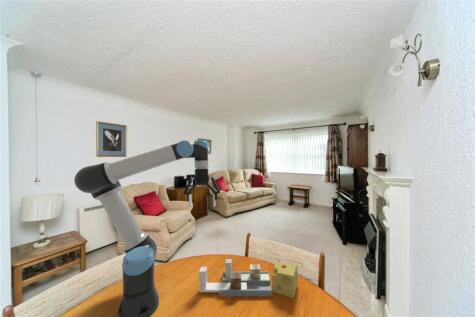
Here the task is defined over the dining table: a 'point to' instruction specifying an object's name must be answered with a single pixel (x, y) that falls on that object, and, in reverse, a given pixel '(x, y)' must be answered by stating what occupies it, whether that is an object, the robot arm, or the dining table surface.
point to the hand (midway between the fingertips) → (202, 206)
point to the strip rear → (243, 276)
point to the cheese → (285, 279)
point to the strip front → (212, 286)
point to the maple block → (255, 272)
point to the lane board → (248, 287)
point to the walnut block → (235, 281)
